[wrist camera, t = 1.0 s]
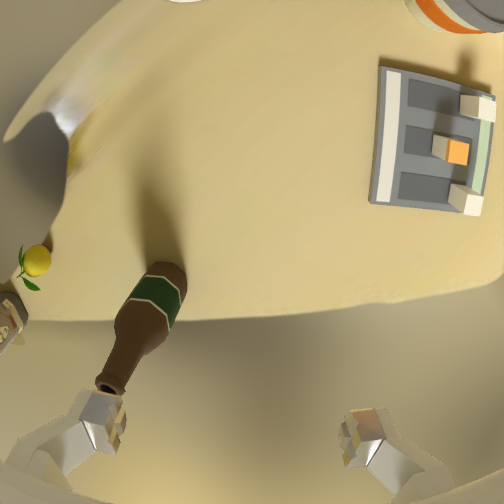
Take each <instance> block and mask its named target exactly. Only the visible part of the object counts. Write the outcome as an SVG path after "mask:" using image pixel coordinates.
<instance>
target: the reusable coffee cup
mask: <svg viewBox="0 0 504 504" xmlns="http://www.w3.org/2000/svg"><path fill="white" fill-rule="evenodd" d="M405 3H406V6H407V8H408V10H409V12H410V13H411V14H412V16H413V17H414V18H415V19H416V20H417V21H418V22H419V23H421V24H422V25H423V26H425V27H427V28H429V29H431V30H434V31H441V32H444V31H450V32H453V33H461V34H481V33H487V32H490V33H499V32H503V31H504V0H405Z"/></svg>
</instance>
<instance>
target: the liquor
mask: <svg viewBox="0 0 504 504" xmlns="http://www.w3.org/2000/svg"><path fill="white" fill-rule="evenodd" d="M27 320H28V314H27V312H26V310H25V308H24V306H23V304H22V302H21V299H20V298H19V297H18V296H16V295H15V294H14V293H10V292H1V293H0V356H1V355H2V353H3V352H4V351H5V350H6V348H7V347H8V346H9V345H10V344H11V342H12V341H13V340H14V339H15V338H16V336H17V335H18V334H19V333H20V332H21V330H22V329H23V328H24V327H25V325H26V324H27Z"/></svg>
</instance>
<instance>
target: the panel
mask: <svg viewBox="0 0 504 504" xmlns="http://www.w3.org/2000/svg"><path fill="white" fill-rule="evenodd" d="M461 95H469V96H480V97H483V98H486V99H489V100H491V101H494V102H495V96H494V95H491V94H488V93H486V92H483V91H480V90H477V89H474V88H470V87H467V86H464V85H461V84H457V83H454V82H450V81H447V80H443V79H439V78H435V77H432V76H427V75H423V74H419V73H415V72H410V71H405V70H400V69H395V68H390V67H384V66H380V67H378V93H377V113H376V129H375V142H374V153H373V164H372V173H371V182H370V191H369V198H368V201H369V202H370V203H371V204H378V205H390V206H401V207H411V208H421V209H431V210H440V211H449V212H457V213H461V212H460V211H459V210H457V209H456V208H455V207H454V206H452V205H451V204H450V203H448V197H449V191H450V186H451V184H458V185H464V186H468V187H469V188H471V189H472V190H474V191H476V192H477V193H479V194H480V195H482V196H483V193H484V188H485V183H486V177H487V171H488V165H489V159H490V151H491V144H492V135H493V125H494V122H490V121H485V120H481V119H476V118H472V117H469V116H465V115H461V114H459V113H460V97H461ZM434 135H439V136H444V137H449V138H453V139H456V140H459V141H462V142H464V143H467V144H469V152H468V159H467V166H466V165H461V164H456V163H450V162H447V161H445V160H443V159H441V158H438V157H436V156H434V155H432V146H433V136H434Z"/></svg>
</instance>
